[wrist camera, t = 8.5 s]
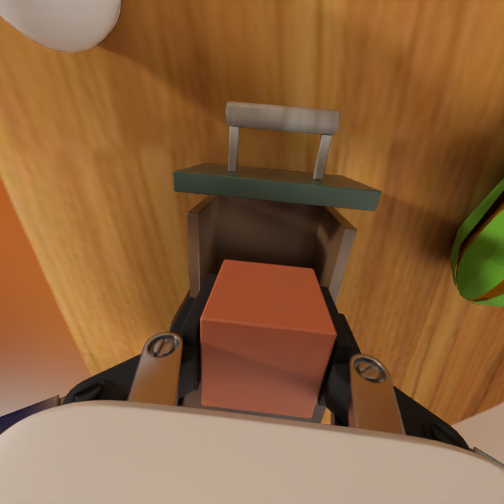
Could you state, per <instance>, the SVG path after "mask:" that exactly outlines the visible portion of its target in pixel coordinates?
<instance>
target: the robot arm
mask: <svg viewBox="0 0 504 504" xmlns="http://www.w3.org/2000/svg"><path fill="white" fill-rule="evenodd" d="M217 276H218V275H212V274H208V275H207V276H206V279H205V281H204V283H203V285H202V287H201V289H200V291H199V293H198V295H197V297H196V298H194V297H188V298H187V300H186V302H185V304H184V305H183V307H182V309H181V311H180V313H179V315H178V316H177V318H176V320H175V322H174V324H173V326H172V328H171V329H170V331H169V332H162V333H158V334H156V335H154V336H152V337H151V338H149V339H148V340H147V341H146V343H145V345H144V347H143V350H142V353H141V354H140V355H137V356H135V357H133V358H131V359H129V360H127V361H125V362H122V363H120V364H118V365H116V366H114V367H112V368H110V369H108V370H105V371H103V372H101V373H99V374H97V375H95V376H93V377H90V378H88V379H86V380H84V381H82V382H81V383H79V384H77V385H76V386H75V387H74V388H73V389H71V390H70V392H69V393H68V394H67V396H65V397H62V398H59V395H57V396H55V397H52V398H50V399H47V400H44V401H41V402H39V403H36V404H34V405H31V406H28V407H25V408H23V409H20V410H17V411H15V412H12V413H9V414H7V415H4V416H1V417H0V504H504V464H502V463H500V462H499V461H497V460H496V459H494V458H492V457H491V456H489V455H488V454H486V453H484V452H483V451H481V450H479V449H478V448H476V447H474V448H473V449H471V448H469V447H468V445H467V444H466V442H465V440H464V439H463V438H462V437H461V436H460V435H459V433H458V432H457V431H456V430H454V429H453V428H452V427H451V426H450V425H448V424H447V423H446V422H444V421H443V420H441V419H440V418H439V417H437V416H436V415H434V414H433V413H432V412H430V411H429V410H427V409H426V408H424V407H423V406H422V405H420V404H419V403H417V402H416V401H414V400H413V399H412V398H410V397H409V396H407V395H406V394H404V393H403V392H402V391H400V390H399V389H397V388H396V387H395V386H393V384H392V380H391V376H390V374H389V371H388V370H387V368H386V367H385V366H384V365H383V364H382V363H381V362H380V361H379V360H377V359H375V358H374V357H372V356H369V355H366V354H361V352H360V350H359V347H358V345H357V343H356V341H355V338H354V336H353V334H352V332H351V329H350V327H349V325H348V323H347V320H346V318H345V316H344V315H343V314H339V313H338V311H337V308H336V306H335V303H334V301H333V299H332V296H331V294H330V291H329V289H328V287H325V286H320V289H321V292H322V294H323V297H324V300H325V303H326V305H327V308H328V311H329V314H330V316H331V319H332V322H333V324H334V327H335V330H336V333H337V336H336V339H335V342H334V346H333V349H332V352H331V355H330V359H329V362H328V365H327V368H326V372H325V375H324V378H323V381H322V385H321V388H320V391H319V394H318V398H317V400H318V405H319V406H326V407H327V408H328V409H329V410H330V411H331V425H328V424H320V423H313V422H305V421H297V420H289V419H281V418H273V417H265V416H256V415H248V414H240V413H232V412H223V411H215V410H206V409H198V408H189V407H185V398H186V396H185V395H187V394H189V393H190V392H192V391H193V390H194V391H198V387H199V384H200V383H201V340H200V318H201V316H202V313H203V311H204V308H205V306H206V303H207V301H208V298H209V296H210V294H211V291H212V289H213V286H214V284H215V281H216V279H217Z"/></svg>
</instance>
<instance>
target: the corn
mask: <svg viewBox="0 0 504 504" xmlns="http://www.w3.org/2000/svg"><path fill="white" fill-rule="evenodd" d="M503 190H504V178H503V179H502V180H501V181H500V183H499V184H498V185H497V186H496V187H495V188H494V189H493V190H492V191H491V192H490V194H489V195H488V196H487V197H486V198H485V199H484V200H483V201H482V202H481V203H480V204H479V206H478V207H477V208H476V209H475V210H474V211H473V212H472V213H471V214H470V215H469V217H468V218H467V219H466V220H465V221H464V222H463V224H462V225H461V226H460V228H459V229H458V231H457V235H456V238H455V241H454V244H453V248H452V251H451V262H450V263H451V268H452V273H453V279H454V283H455V285H456V283H457V286H458V290H459V293H460V295H461V296H462V297H463V298H465V299H466V300H468V301H470V300H471V301H472V303H475V304H478V305H488V306H499V307H504V202H503V203H502V204H501V205H500V206H499V207H498V208H497V209H496V211H495V212H494V213H493V214H492V215H491V216H490V217H489V218H488V219H487V220H486V221H485V222H484V223H483V224H482V225H481V226H480V227H479V228H478V230H477V231H476V232H475V233H474V234H473V235H472V236H471V237H470V239H469V240H468V242H467V243H466V245H465V247H464V248H463V251H462V253H461V255H460V257H459V259H458V261H457V257H458V253H459V249H460V244H461V243H462V242H463V240H464V239H465V238H466V237H467V235H468V234H469V233H470V232H471V230H472V229H473V228H474V227H475V225H476V224H477V223H478V222H479V220H480V219H481V218H482V217H483V215H484V214H485V213H486V212H487V210H488V209H489V208H490V207H491V205H492V204H493V203H494V202H495V200H496V199H497V198H498V197H499V195H500V194H501V193H502V192H503ZM456 262H457V270H456V279H455V266H456ZM455 280H456V282H455ZM457 286H456V287H457Z"/></svg>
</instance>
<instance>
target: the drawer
mask: <svg viewBox="0 0 504 504" xmlns="http://www.w3.org/2000/svg"><path fill="white" fill-rule="evenodd" d="M339 121H340V111H339V110H328V109H317V108H305V107H293V106H282V105H270V104H258V103H247V102H235V101H228V102H227V106H226V122H227V126H230V132H229V159H228V165H223V164H213V163H204V164H200V165H196V166H193V167H189V168H185V169H181V170H177V171H174V172H173V178H174V191H176V192H186V193H196V194H206V195H209V196H207V197H206V198H205V199H204V200H202V201H201V202H200V203H199V204H197V205H196V206H195V207H194V208H192V209H191V210H190V211H189V212H187V223H188V251H189V279H190V297H194V298H196V297H197V295H198V293H199V291H200V289H201V287H202V285H203V283H204V281H205V279H206V276H207V275H208V274H212V275H218V274H219V271H220V269H221V266H222V264H223V261H224V260H235V261H245V262H254V263H264V264H273V265H283V266H292V267H302V268H311V269H313V270H314V272H315V275H316V278H317V281H318V283H319V286H325V287H328V289H329V291H330V294H331V296H332V299H333V301H334V303H335V304H336V300H337V297H338V293H339V290H340V286H341V283H342V279H343V276H344V273H345V269H346V266H347V262H348V259H349V255H350V252H351V248H352V245H353V241H354V238H355V234H356V231H357V229H356V228H355V227H354V226H353V225H351V224H350V223H349V222H348V221H347V220H346V219H345V218H344V217H343V216H342V215H341V214H340V213H339V212H338V211H337V210H336V209H335V208H334V207H339V208H349V209H359V210H369V211H375V210H376V207H377V204H378V201H379V198H380V195H381V191H379V190H377V189H374V188H372V187H369V186H367V185H364V184H362V183H359V182H357V181H355V180H352V179H350V178H347V177H345V176H340V175H330V174H324V171H325V166H326V161H327V156H328V151H329V147H330V142H331V137H332V136H331V135H335V133H336V131H337V129H338V126H339ZM239 127H244V128H255V129H266V130H277V131H288V132H300V133H311V134H322V135H321V137H320V143H319V148H318V154H317V159H316V164H315V170H314V173H308V172H298V171H287V170H276V169H266V168H255V167H245V166H238V151H239V132H240V128H239Z"/></svg>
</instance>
